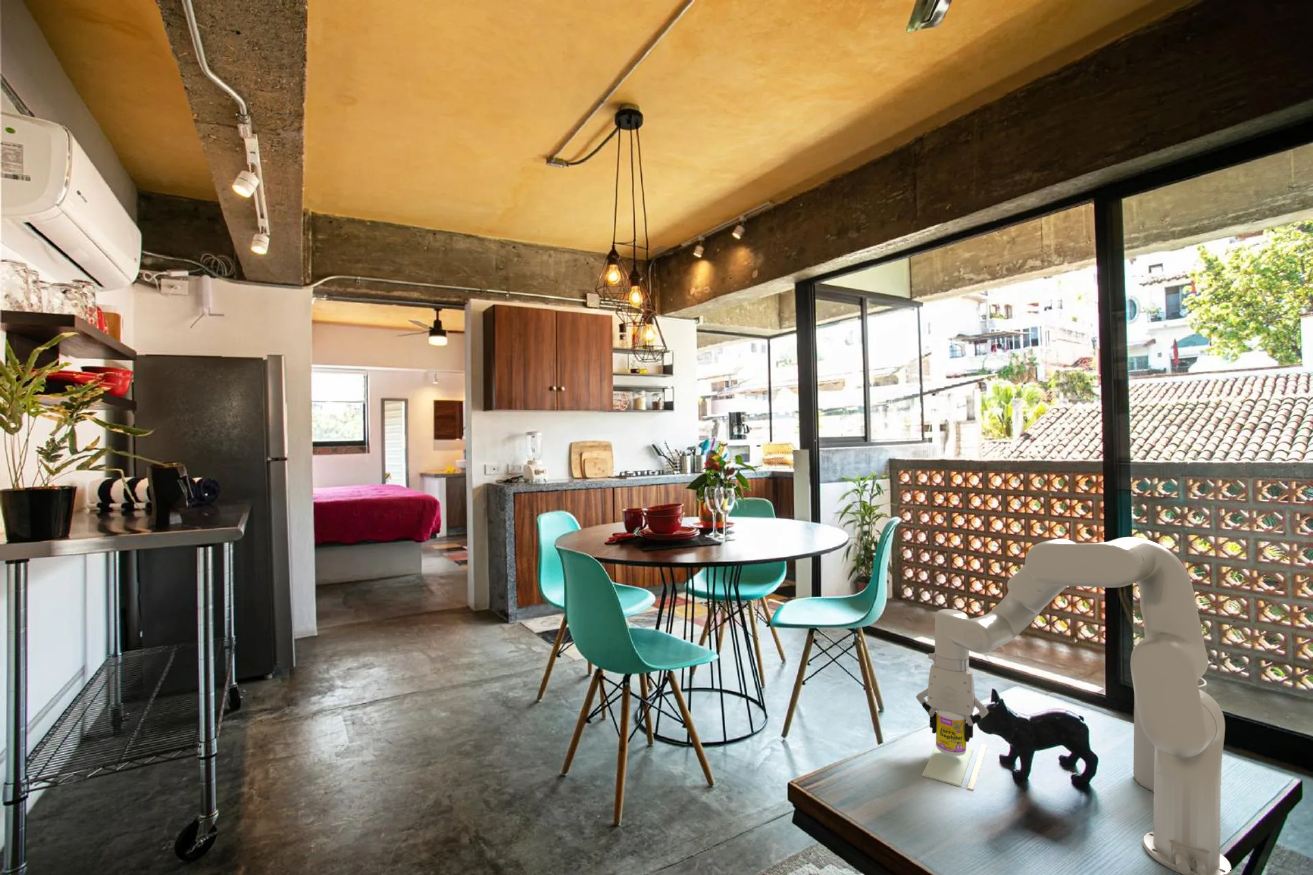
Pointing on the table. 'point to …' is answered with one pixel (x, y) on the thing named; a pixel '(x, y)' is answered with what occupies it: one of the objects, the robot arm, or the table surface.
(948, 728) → the supplement bottle
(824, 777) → the table surface
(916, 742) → the table surface
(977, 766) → the beige wooden stick
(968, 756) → the mat
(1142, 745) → the cylinder vase
